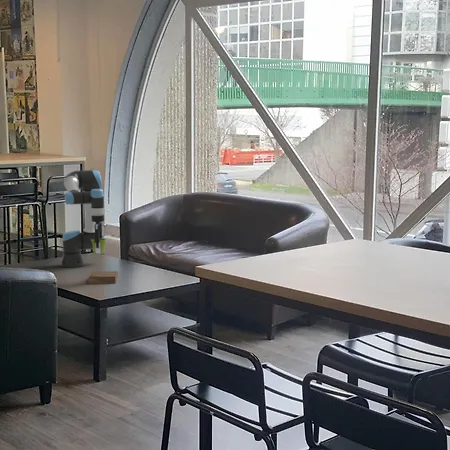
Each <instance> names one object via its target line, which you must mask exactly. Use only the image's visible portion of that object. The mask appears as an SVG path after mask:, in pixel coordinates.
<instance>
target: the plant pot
mask: <svg viewBox="0 0 450 450" xmlns="http://www.w3.org/2000/svg"><path fill="white" fill-rule="evenodd" d="M91 241H92V245H93V249H92V250H93V255H94V254H95V255H103V254H105V250H106V249H105V248H106V242H107V238H104V237H103V238H100V253H96V251H95V243H94V241H95V239H91Z"/></svg>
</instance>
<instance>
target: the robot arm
mask: <svg viewBox="0 0 450 450" xmlns="http://www.w3.org/2000/svg"><path fill="white" fill-rule="evenodd" d="M63 186H64V188H65V189H66V192H65V193H64V203H65V205H71V206H72V205H84V214H85V215H84V216H85V217H84V218H85V223H84V224H85V227H84V228H83V230H82V231H83V232H81V231H80V230H78V229H77V230H70V231H66V232H64V233H62V257H61V261H60V267H62V268H71V269H73V268H80V267H84V265H85V262H84V259H83V256H82V254H81V253H82V252H81V251H82V250H83V251H84V250H93V245H92V241H91V239H95V241H94V243H95V251H96V253H100V238H104V232H103V223H104V222H105V215H104V214H105V205H104V203H105V201H104V197H105V196H104V190H103V181H102V176H101V172H100V171H99V170H95V169H91V170H73V171H71V172H69V173H68V174H66V176H65V177H64V179H63ZM80 189H81V190H82V191H80ZM102 222H103V223H102Z"/></svg>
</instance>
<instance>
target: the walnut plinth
mask: <svg viewBox="0 0 450 450" xmlns="http://www.w3.org/2000/svg"><path fill="white" fill-rule="evenodd" d="M118 279H119V271H115V270H114V271H92V272H91V273H90V275H89V276H88V284H89V285H93V284H95V285H96V284H116V283H117V281H118Z"/></svg>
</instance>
